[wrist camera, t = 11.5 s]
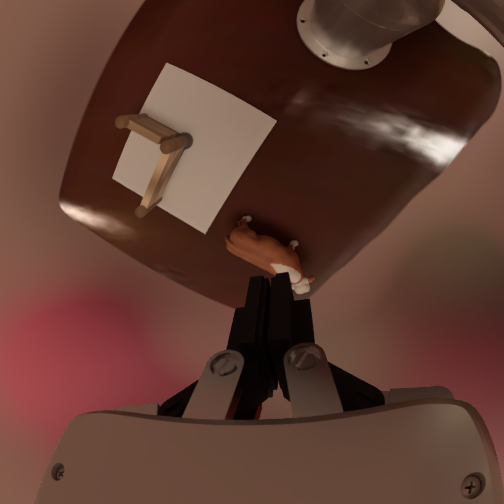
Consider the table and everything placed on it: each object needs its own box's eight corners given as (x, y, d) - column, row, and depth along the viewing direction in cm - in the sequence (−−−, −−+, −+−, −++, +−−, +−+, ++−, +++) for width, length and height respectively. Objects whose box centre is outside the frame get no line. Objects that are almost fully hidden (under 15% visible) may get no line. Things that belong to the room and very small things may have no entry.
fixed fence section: (141, 111, 33) (118, 113, 27) (178, 131, 34) (160, 135, 28) (137, 121, 34) (113, 125, 28) (173, 141, 35) (154, 147, 29)
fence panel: (181, 133, 34) (163, 138, 28) (191, 138, 34) (175, 144, 29) (151, 199, 39) (132, 214, 33) (160, 204, 39) (142, 220, 33)
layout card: (167, 63, 30) (166, 62, 29) (277, 120, 33) (277, 121, 32) (113, 177, 38) (112, 178, 38) (205, 232, 41) (204, 234, 41)
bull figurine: (301, 274, 43) (304, 307, 36) (226, 228, 41) (214, 255, 34) (319, 253, 41) (326, 285, 34) (242, 204, 39) (233, 227, 32)
